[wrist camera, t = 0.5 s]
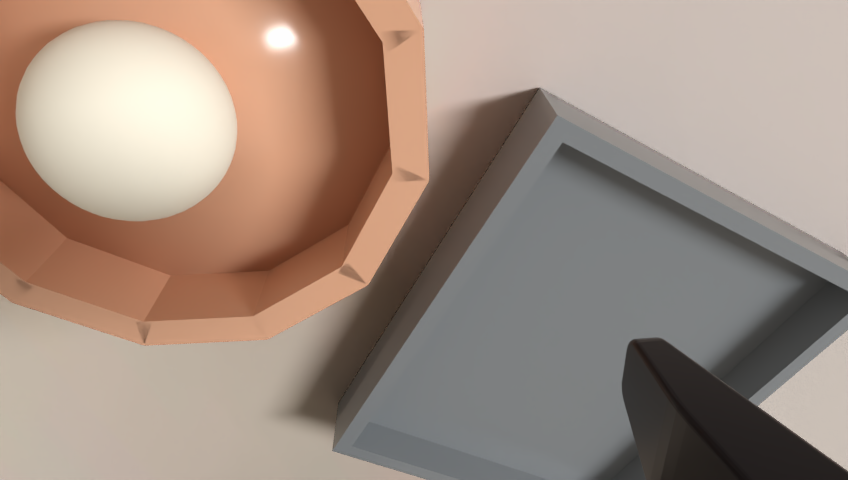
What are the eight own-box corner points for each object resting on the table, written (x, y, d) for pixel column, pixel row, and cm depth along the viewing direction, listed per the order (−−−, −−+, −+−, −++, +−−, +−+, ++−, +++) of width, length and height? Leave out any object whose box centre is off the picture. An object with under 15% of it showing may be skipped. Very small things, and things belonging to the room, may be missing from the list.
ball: (226, 194, 19) (173, 287, 14) (64, 128, 17) (-46, 208, 13) (280, 56, 16) (236, 118, 12) (97, -33, 15) (-23, 1, 11)
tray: (591, 486, 29) (606, 533, 27) (338, 403, 25) (332, 450, 23) (843, 253, 22) (890, 293, 20) (539, 87, 18) (557, 115, 16)
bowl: (315, 330, 23) (302, 396, 20) (-106, 178, 19) (-199, 234, 16) (516, -30, 16) (540, -10, 13) (-78, -389, 12) (-234, -476, 9)
